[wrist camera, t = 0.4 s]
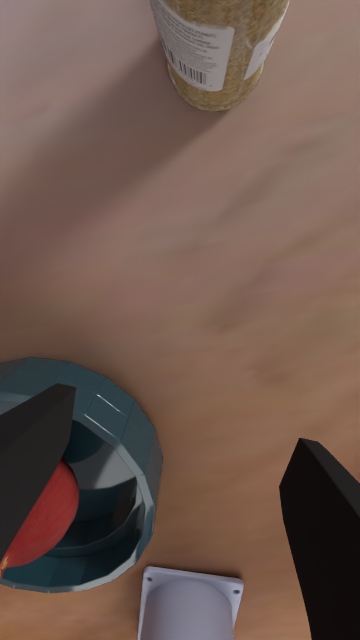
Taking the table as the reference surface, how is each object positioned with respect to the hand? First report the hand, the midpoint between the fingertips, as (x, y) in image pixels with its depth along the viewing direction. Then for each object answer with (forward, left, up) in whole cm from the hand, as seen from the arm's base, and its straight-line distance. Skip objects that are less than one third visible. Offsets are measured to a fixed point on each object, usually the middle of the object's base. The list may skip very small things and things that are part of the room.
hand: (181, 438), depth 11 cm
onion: (-11, +9, -10) cm, 17 cm away
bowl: (-11, +9, -10) cm, 17 cm away
